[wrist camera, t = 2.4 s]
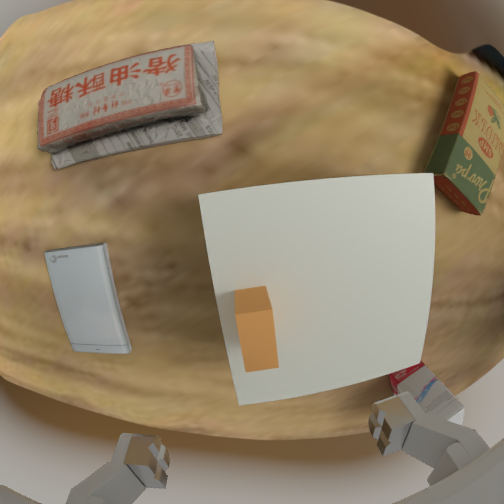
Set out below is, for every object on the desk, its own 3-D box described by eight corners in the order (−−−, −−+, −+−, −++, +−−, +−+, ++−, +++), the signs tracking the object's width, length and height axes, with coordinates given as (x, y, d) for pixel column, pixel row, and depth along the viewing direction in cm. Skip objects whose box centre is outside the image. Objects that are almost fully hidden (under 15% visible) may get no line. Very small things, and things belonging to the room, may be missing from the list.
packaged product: (32, 172, 19) (33, 77, 17) (58, 171, 24) (57, 87, 22) (222, 127, 20) (212, 22, 18) (224, 137, 25) (216, 45, 22)
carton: (492, 117, 25) (512, 115, 21) (460, 213, 28) (483, 218, 24) (456, 75, 23) (477, 69, 19) (419, 174, 26) (444, 175, 22)
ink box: (386, 371, 32) (428, 431, 21) (417, 352, 32) (465, 404, 20) (395, 406, 34) (429, 459, 23) (422, 389, 34) (460, 437, 23)
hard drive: (42, 252, 25) (72, 352, 28) (102, 244, 25) (129, 355, 28) (50, 248, 26) (77, 345, 29) (108, 241, 26) (133, 347, 30)
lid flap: (427, 173, 18) (464, 174, 14) (415, 358, 22) (438, 384, 18) (199, 194, 18) (189, 198, 13) (238, 399, 22) (240, 436, 18)
